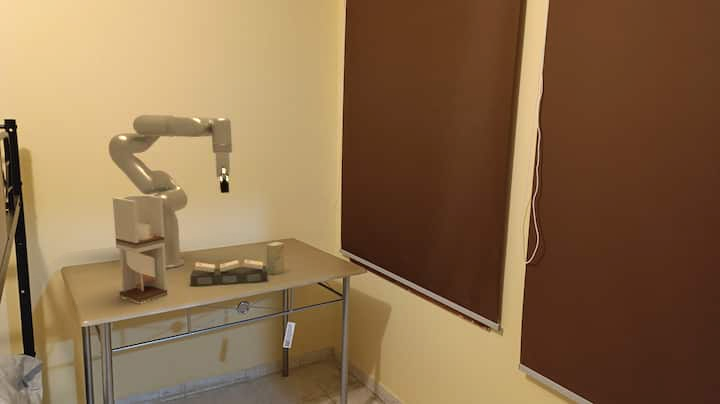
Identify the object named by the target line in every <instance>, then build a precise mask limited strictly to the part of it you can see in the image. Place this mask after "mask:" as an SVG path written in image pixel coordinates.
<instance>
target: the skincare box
mask: <svg viewBox="0 0 720 404" xmlns="http://www.w3.org/2000/svg"><path fill="white" fill-rule="evenodd" d="M266 268H267V275H273V276H274V275H278V274H281V273H285V243H284V242H278V241H274V242H271V243H267V244H266Z"/></svg>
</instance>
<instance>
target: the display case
mask: <svg viewBox="0 0 720 404" xmlns="http://www.w3.org/2000/svg"><path fill="white" fill-rule="evenodd" d="M112 206H113V207H112V209H113V219H114V221H113V222H114V233H115V235H114V236H115V237H114V238H115V247H116V248H115V249H119V259H120V260H119V261H120V274H121V287H122V288H121V289H122V291H119V293H118V294H119V297H120V296H121V297H124V298H127V299H130V300H133V301H136V302H139V303H141V302H144V301H148V300H151V301H153V300H152V299H154V300H157V299H160V298H163V297H166V296H168V283H167V268H166V261H165V242H164V224H163V206H162V197H156V196H154V195H150V194H149V195H147V194H143V193H141V194H135V195H127V196H119V197H112ZM159 297H160V298H159ZM156 298H157V299H156ZM148 302H149V301H148Z"/></svg>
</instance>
